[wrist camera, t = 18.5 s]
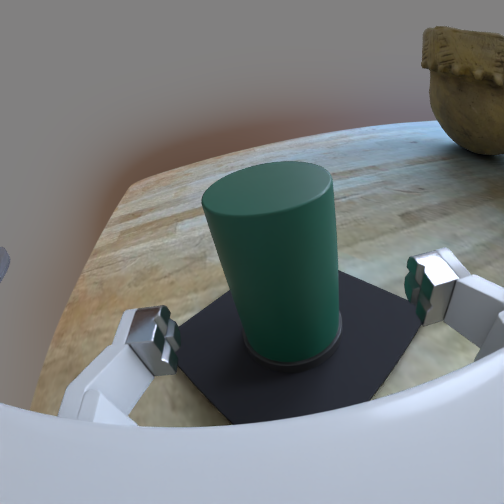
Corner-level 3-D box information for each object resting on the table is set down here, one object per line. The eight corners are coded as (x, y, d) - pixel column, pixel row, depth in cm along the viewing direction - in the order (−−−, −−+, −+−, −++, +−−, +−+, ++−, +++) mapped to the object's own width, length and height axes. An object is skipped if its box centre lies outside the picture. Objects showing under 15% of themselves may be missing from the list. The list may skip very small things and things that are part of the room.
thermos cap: (296, 392, 13) (263, 237, 8) (226, 338, 17) (171, 201, 12) (361, 322, 16) (363, 169, 11) (290, 286, 20) (266, 154, 15)
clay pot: (452, 129, 46) (445, 38, 35) (540, 159, 30) (541, 54, 18) (402, 147, 40) (388, 25, 29) (523, 190, 23) (524, 33, 12)
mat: (296, 479, 10) (295, 478, 9) (161, 345, 18) (157, 341, 18) (427, 314, 15) (428, 309, 15) (287, 252, 24) (286, 247, 23)
